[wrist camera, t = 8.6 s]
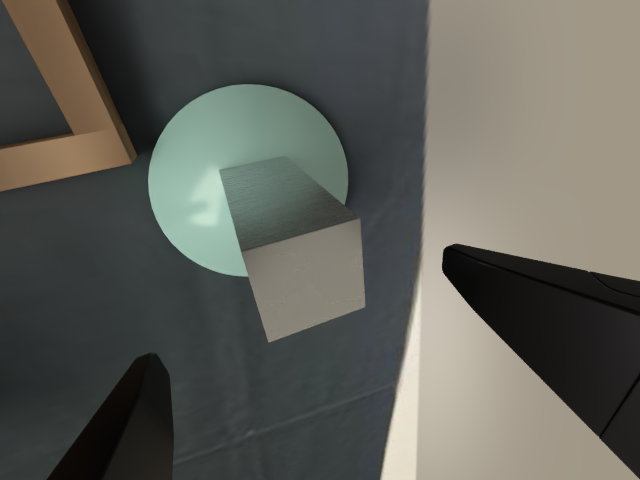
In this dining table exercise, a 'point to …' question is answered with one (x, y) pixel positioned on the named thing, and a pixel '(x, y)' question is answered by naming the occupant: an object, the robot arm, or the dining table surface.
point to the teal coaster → (233, 163)
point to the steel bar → (294, 245)
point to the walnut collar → (64, 102)
